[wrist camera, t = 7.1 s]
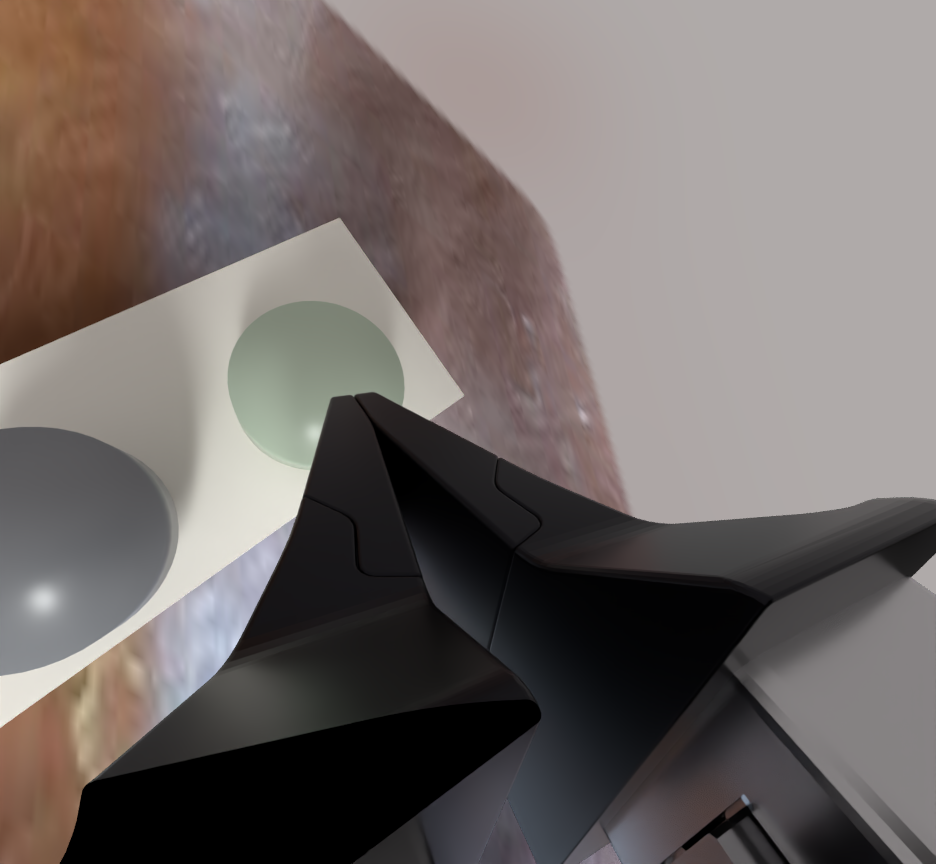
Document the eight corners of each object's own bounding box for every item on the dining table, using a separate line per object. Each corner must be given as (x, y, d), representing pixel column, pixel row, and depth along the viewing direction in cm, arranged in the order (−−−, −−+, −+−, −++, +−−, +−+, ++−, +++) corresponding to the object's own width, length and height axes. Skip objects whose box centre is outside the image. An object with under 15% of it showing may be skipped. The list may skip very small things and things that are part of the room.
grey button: (220, 555, 11) (212, 559, 9) (8, 704, 9) (-40, 736, 8) (100, 402, 10) (73, 384, 9) (-146, 524, 9) (-225, 525, 7)
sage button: (419, 415, 14) (434, 404, 13) (296, 502, 13) (299, 499, 11) (335, 298, 14) (342, 274, 13) (196, 370, 12) (187, 351, 11)
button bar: (404, 436, 23) (464, 395, 15) (-93, 789, 15) (-461, 1057, 7) (318, 317, 22) (339, 217, 15) (-248, 615, 14) (-818, 717, 7)
